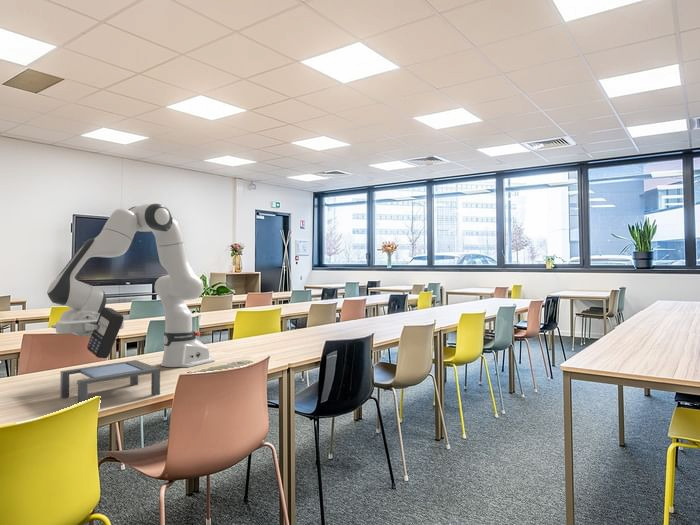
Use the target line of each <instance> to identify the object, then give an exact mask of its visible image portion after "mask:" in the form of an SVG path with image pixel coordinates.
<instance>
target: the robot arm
mask: <svg viewBox="0 0 700 525" xmlns="http://www.w3.org/2000/svg"><path fill="white" fill-rule="evenodd" d="M141 232H144V233H145V232H146V233H149V232H150V233H152V234H153V235H154V238H155V244H156V250H157V255H158V259H159V263H160V266H162V267H163V268H164V270H166V272H167V274H166V275H163V276H160V277H158V278H157V279H156V281H155V283H154V292H155V294H156V295H157V296H158V297H159V299H160V302H161V304H162V307H163V311H164V330H165V331H164V333H163V344H164V348H163V356H162V359H161V362H160V363H161V364H160V366H162V367H165V368H166V367H168V368H190V367H194V366H200V365H204V364H208V363H213V362H215V357H213V356H211V355H210V350H209V348H208V346H207V345H206V344H204V343H202V342H201V341H200V340H199V339H197V338H196V337H200V336H201V333H200V331H195V330H193V313H192V311H191V310H190V309H189V307H188V305H187V303H186V301H192V300H197V299H198V298H200V297H201V295H202V294H203V292H204V288H205V287H204V281H203V280H202V279H201V278H200V277H199V276H198V275H196V273H195V272H194V270H193V268H192V266H191V264H190V263H189V259H188V256H187V251H186V248H185V242H184V237H183V234H182V230H181V228H180V225H179V222H178V221H177V220H176V219H175V218H173V216H172V214H171V212H170V210H169V209H168V207H166V206H165V205H163V204H160V203H146V204H142V205H138V206H133V207H130V208H128V209H127V208H118V209H115V210H114V211H113V212H112V213H111V215H109V217H108V219H107V221H106V222H105V224H104V226H103V228H102V229H101V231H100V233H99V234H98V235H97V236H95V237H94V238H88V239H87V240H86V241H84V243H83V244H82V245H81V246H80V247H79V248H78V250H77V251H76V252H75V254H74V255H73V256H72V257H71V259H70V260H69V261H68V262H67V264H66V265H65V267H64V268H63V269H62V270H61V271H60V273H59V274H58V276H57V277H56V278H55V279H54V280H53V281H52V282H51V283H50V285H49V287H48V289H47V292H46V294H47V296H48V298H49V300H50V301H51V302H52V303H53V304H57V305H61V306H65V307H68V308H70V309H67V310H65V311H64V312H62V314H61V315H60V317H59V320H58V321H56V322H55V324H52V325H51V329H55V332H56V334H58V335H66V334H67V335H68V334H73V335H76V336H79V337H82V338H87V337H91V335H92V333H93V331H94V330H97V327H99V328H100V325H99V324H97V325H96V323H97V320H98V318H99V315H100V313H101V310H102V309H103V308H104V307H106V304H107V295H106V292H105V291H104V290H103V289H101V288H99V287H96V286H93V285H91V284H88V283H85V282H82V281H80V280H77V279H76V276H77V274H78V273H79V272H80V270H81V269H82V267H83V266H84V265H85V264H86V262H87V261H88V260H89V259H90V258H95V257H96V258H116V257H117V258H118V257H120V256H123V255H124V254H126V253H127V251H128V250H129V248H130V246H131V244H132V242H133V239H134V237H135V234H136V233H141ZM99 328H98V329H99ZM124 328H125V319H123V322H122V325H121V327H120V329H119V330H123V329H124Z"/></svg>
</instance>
